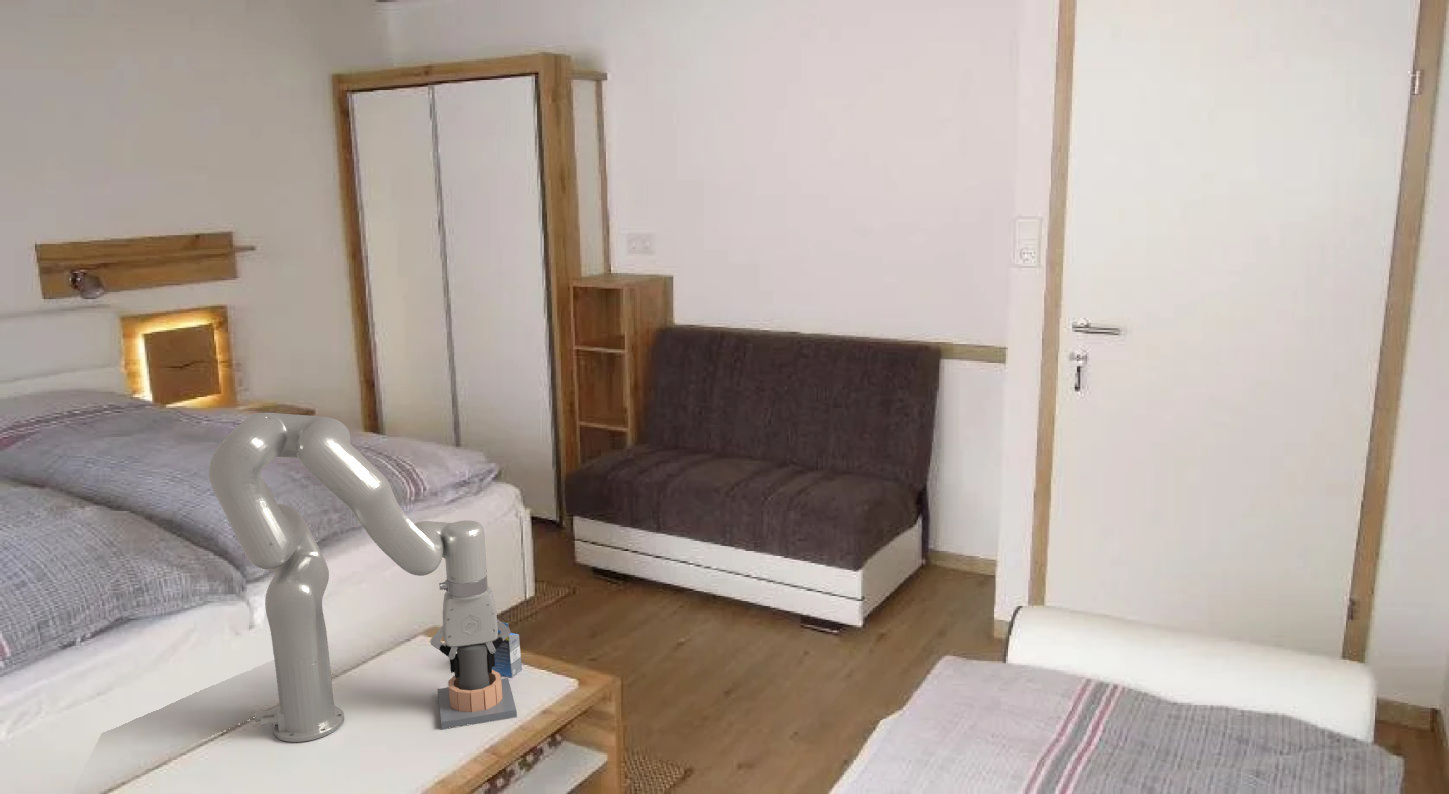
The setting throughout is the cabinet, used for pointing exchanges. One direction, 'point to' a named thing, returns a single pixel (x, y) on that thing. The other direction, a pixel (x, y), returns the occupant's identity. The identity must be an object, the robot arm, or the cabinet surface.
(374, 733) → the cabinet surface
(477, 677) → the bottle
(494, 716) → the holder
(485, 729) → the cabinet surface
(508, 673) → the label tape box
